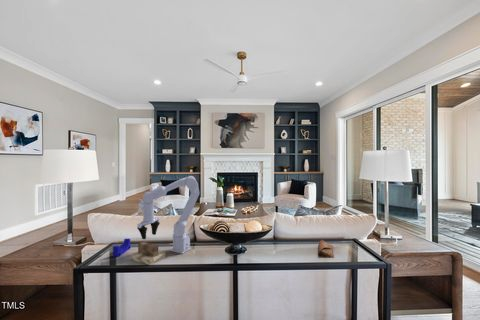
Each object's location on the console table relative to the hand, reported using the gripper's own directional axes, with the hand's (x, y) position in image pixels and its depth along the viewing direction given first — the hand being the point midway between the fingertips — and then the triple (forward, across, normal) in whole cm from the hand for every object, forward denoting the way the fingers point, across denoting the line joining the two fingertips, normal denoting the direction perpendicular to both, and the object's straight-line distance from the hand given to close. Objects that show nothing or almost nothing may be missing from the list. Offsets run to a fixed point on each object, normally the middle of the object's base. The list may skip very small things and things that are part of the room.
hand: (149, 236), depth 139 cm
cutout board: (+9, +5, +5) cm, 12 cm away
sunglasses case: (+10, -45, +92) cm, 103 cm away
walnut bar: (+7, +5, +4) cm, 10 cm away
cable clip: (+10, +6, -16) cm, 19 cm away
